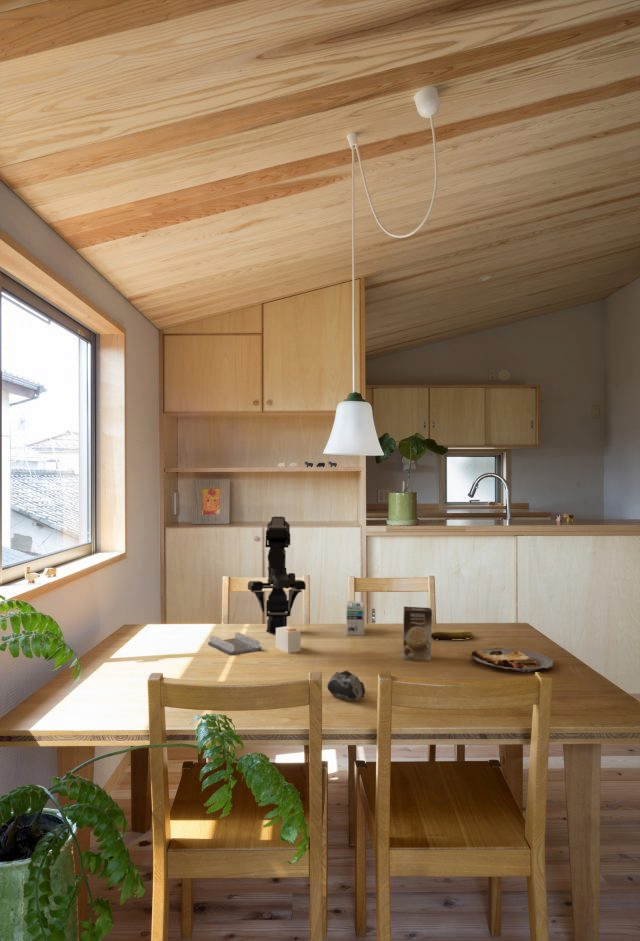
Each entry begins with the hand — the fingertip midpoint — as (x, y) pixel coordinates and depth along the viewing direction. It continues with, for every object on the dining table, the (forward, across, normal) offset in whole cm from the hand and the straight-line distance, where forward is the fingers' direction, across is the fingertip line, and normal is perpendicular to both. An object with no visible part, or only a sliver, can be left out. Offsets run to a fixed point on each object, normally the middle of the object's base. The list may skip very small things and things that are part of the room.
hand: (276, 611), depth 234 cm
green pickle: (+13, +68, 0) cm, 69 cm away
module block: (+13, +5, +2) cm, 14 cm away
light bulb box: (+12, +36, +20) cm, 43 cm away
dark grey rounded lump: (+17, +7, -50) cm, 53 cm away
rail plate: (+13, -12, +10) cm, 20 cm away
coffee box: (+14, +42, -20) cm, 48 cm away
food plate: (+15, +68, -35) cm, 77 cm away
